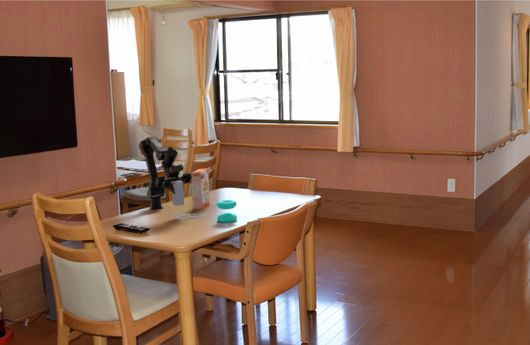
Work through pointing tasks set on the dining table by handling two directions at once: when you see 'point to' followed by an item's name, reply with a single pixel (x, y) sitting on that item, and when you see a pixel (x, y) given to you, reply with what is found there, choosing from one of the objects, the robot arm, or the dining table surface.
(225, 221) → the donuts
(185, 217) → the board
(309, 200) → the dining table surface
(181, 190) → the grey-blue tall block
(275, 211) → the dining table surface
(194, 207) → the cracker box
